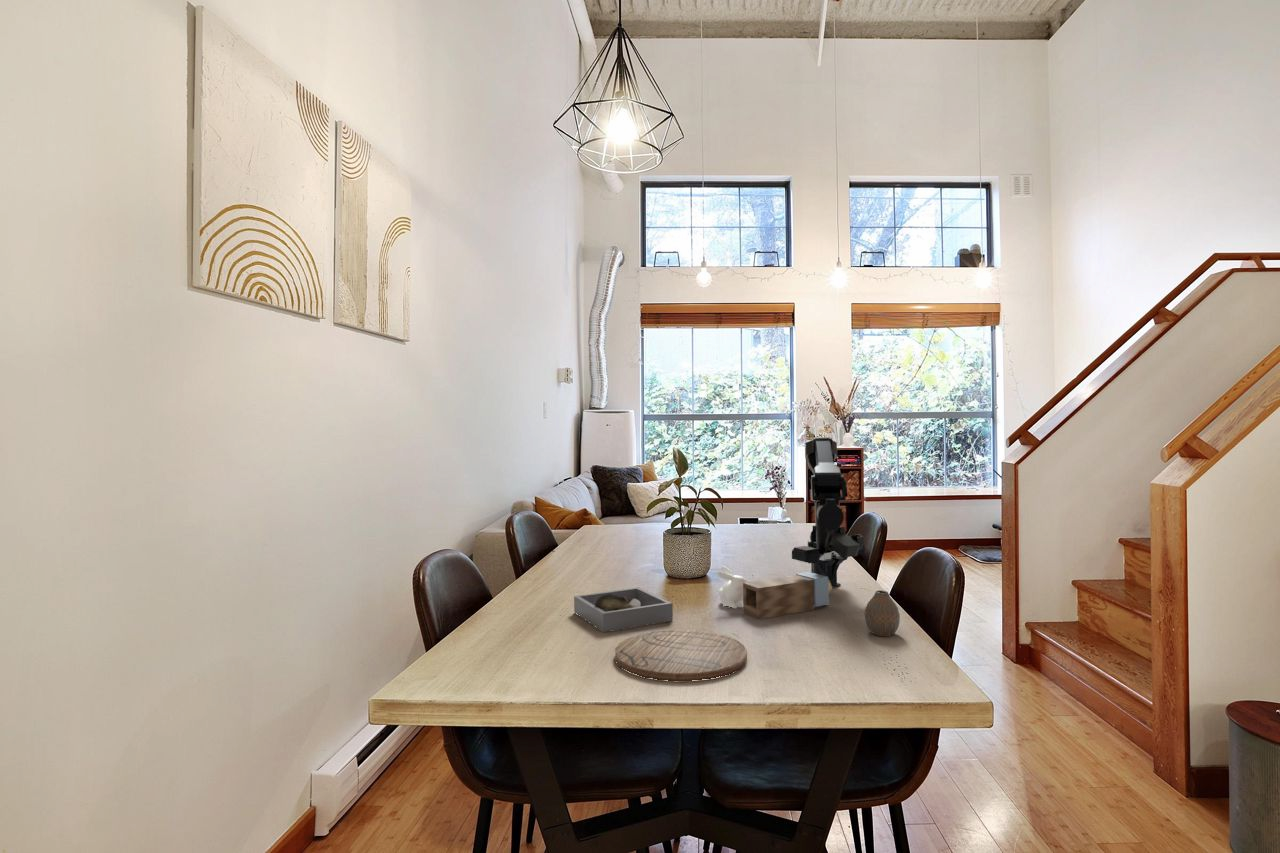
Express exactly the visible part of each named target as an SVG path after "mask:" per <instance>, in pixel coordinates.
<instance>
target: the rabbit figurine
mask: <svg viewBox="0 0 1280 853" xmlns="http://www.w3.org/2000/svg"><path fill="white" fill-rule="evenodd" d="M716 573H717V576H718V577H719V578H721V579H723V580H725V583H723V585H722V586H721V587H720V588H719V590H718V596H719V600H720V602H721V604H723V605H722V607H724V606H729V607H728V608H730V607H732V608H731V609H738V608H743V583H745V582H748V581H747V579H746V578H745V577H744V576H742V575H736V574H734V572H733V570H731V569H730V568H728V567H726V566H725V565H722V566H721V570H717V572H716ZM737 607H738V608H737Z"/></svg>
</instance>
